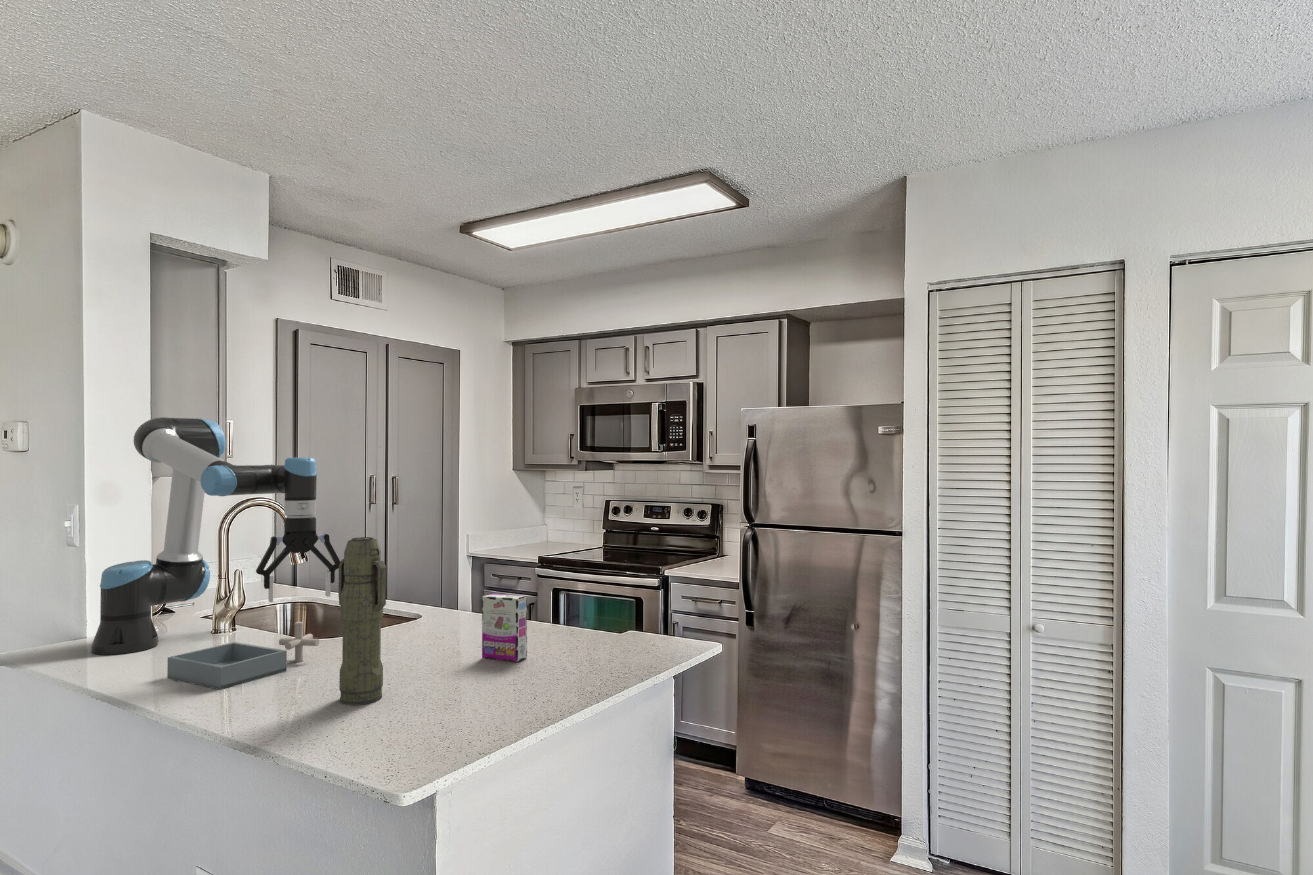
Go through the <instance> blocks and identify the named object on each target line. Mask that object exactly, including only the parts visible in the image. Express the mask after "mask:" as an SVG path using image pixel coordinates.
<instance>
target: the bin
mask: <svg viewBox="0 0 1313 875" xmlns="http://www.w3.org/2000/svg"><path fill="white" fill-rule="evenodd" d="M287 653H288V650H287V649H280V648H274V647H273V648H272V647H268V646H267V647H266V646H262V645H261V646H260V645H254V644H249V643H244V642H237V641H233V642H228V643H224V644H220V645H216V646H215V645H214V646H210V647H207V648H203V649H198V650H194V651H189V652H185V653H180V654H176V655H172V656H167V669H166V670H167V671H166V672H167V673H166V674H167V676H166V678H167V679H170V680H173V681H179V682H182V681H183V683H187V684H192V683H193V685H196V686H201V685H203V687H206V688H211V687H212V688H211V689H215V690H220V689H221V690H225V689H227V688H230V687H236V686H238V685H239V686H240V685H242V684H246V683H249V682H252V681H257V680H260V679H262V678H266V677H270V676H273V675H277V674H280V673H284V672H287V664H288V663H287V659H288V658H287V656H288V655H287Z"/></svg>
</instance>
